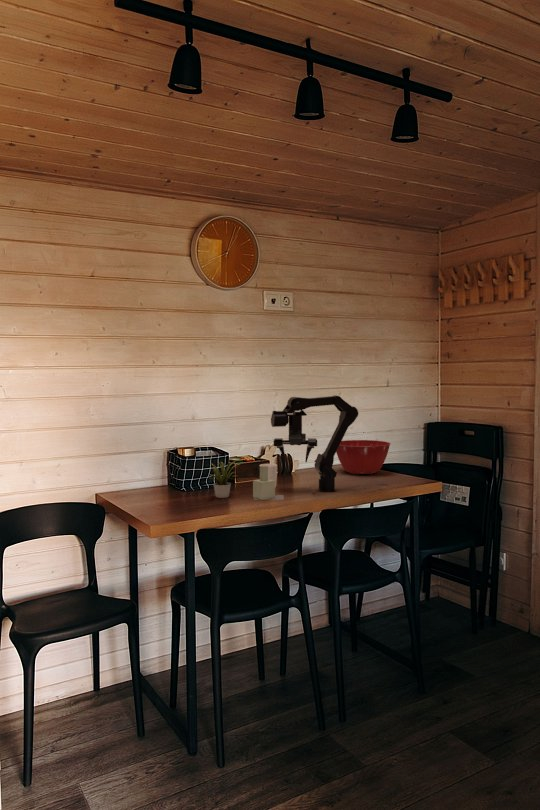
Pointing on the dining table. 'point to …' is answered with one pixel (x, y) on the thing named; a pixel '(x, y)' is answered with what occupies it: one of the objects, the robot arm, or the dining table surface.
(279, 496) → the slate mat
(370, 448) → the mixing bowl
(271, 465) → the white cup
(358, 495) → the dining table surface
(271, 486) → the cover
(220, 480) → the house plant
